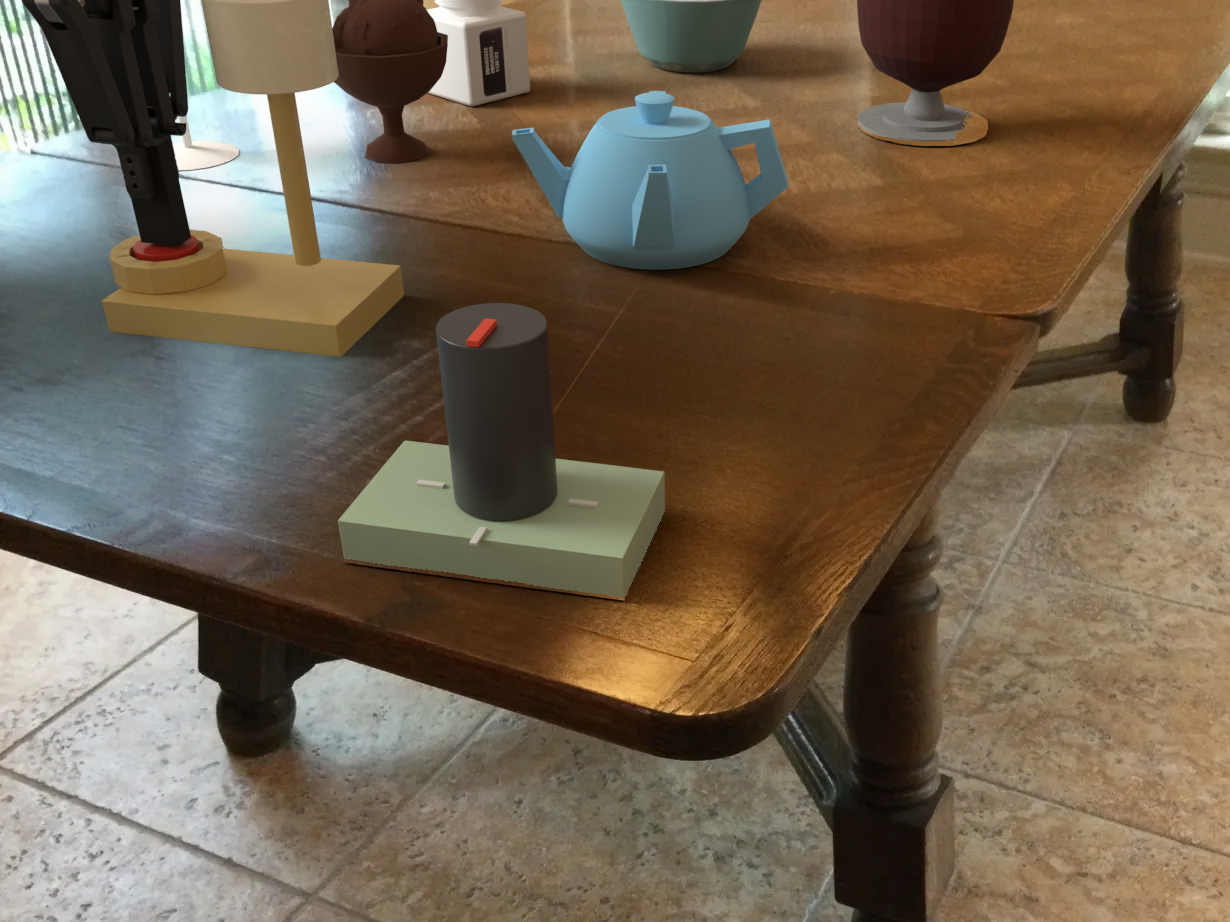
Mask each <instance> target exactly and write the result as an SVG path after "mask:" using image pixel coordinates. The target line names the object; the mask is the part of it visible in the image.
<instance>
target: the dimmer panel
mask: <svg viewBox="0 0 1230 922" xmlns="http://www.w3.org/2000/svg"><path fill="white" fill-rule="evenodd" d="M556 473H557V490H558V492H557V496H556V498H555V500H554V501H553V503H552V504H551V505H550V506H549V507H547V508H546V509H545V510H543V511H541V512H539V513H537V514H535V515H532V516H529V517H526V518H522V519H517V520H509V521H493V520H485V519H480V518H477V517H474V516H471V515H469V514H467V513H465V512H464V511H462V510H461V509H460V508H459V506H458V505H457V504H456V502H455V498H454V490H453V481H452V472H451V463H450V454H449V445H446V444H437V443H431V442H423V441H422V442H421V441H414V440H413V441H412V440H404V441H403V442H402V443H401V444H400V445H399V446H398V447H397V448H396V450H395V451H394V453H392V455H391V456H390V457H389V458H388V460H386V462H385V463H384V464H383V466H382V467H381V468H380V469H379V470H378V472H377V473H376V474H375V475H374V476H373V477H372V479H371V480H370V481H369V483H367V485H366V486H365V487H364V488H363V490H362V491H360V493H359V494H358V496H357V497H356V498H355V499H354V500H353V502H352V503H351V504H350V505H349V507H347V509H346V510H345V511H344V512H343V514H342V515H341V516H340V517H339V519H338V520H337V523H338V529H339V535H340V542H341V548H342V553H343V560H344V559H348V560H350V559H352V560H357V561H358V560H359V561H364V562H370V563H371V562H372V563H373V564H375V563H377V564H383V565H388V566H391V565H392V566H398V567H401V566H402V567H407V568H413V569H415V568H417V569H423V570H425V569H427V570H429V571H430V570H433V571H439V572H441V571H443V572H445V573H446V572H449V573H455V574H461V575H463V574H464V575H468V576H474V577H480V578H487V579H493V580H494V579H498V580H504V581H506V582H507V581H511V582H514V581H516V582H518V583H525V584H527V585H530V584H532V585H534V586H538V585H539V586H541V587H548V588H555V589H563V590H565V591H566V590H570V591H578V592H586V593H594V594H602V595H609V596H612V597H615V596H616V597H620V598H625V596H626V594H627V591H628V589H629V587H630V585H631V583H632V581H633V579H634V577H635V575H636V573H637V571H638V572H639V570H638V568H639V567H640V568H641V566H642V564H641V562H642V561H643V562H644V560H643V558H644V559H645V557H646V555H645V553H646V552H647V553H648V551H647V549H648V547H649V545H650V546H651V544H650V542H651V541H652V542H653V540H652V538H653V536H654V533H655V531H656V530H657V531H658V529H657V527H658V525H659V523H660V521H661V522H662V520H663V518H662V516H663V514H664V512H665V513H666V481H665V480H666V479H665V478H666V477H665V476H666V472H665V471H663V470H655V469H645V468H640V467H639V468H637V467H630V466H621V465H615V464H607V463H606V464H605V463H597V462H589V461H581V460H580V461H579V460H571V459H570V460H569V459H563V458H556ZM664 515H665V514H664ZM663 517H664V516H663ZM661 519H662V520H661ZM660 524H661V523H660ZM659 526H660V525H659ZM658 528H659V527H658ZM657 531H656V532H657ZM655 534H656V533H655ZM654 537H655V536H654ZM653 539H654V538H653ZM652 542H651V543H652ZM649 548H650V547H649ZM648 550H649V549H648ZM647 553H646V554H647ZM644 556H645V557H644ZM643 562H642V563H643ZM640 565H641V566H640ZM640 568H639V569H640ZM637 574H638V573H637ZM636 576H637V575H636ZM635 578H636V577H635ZM634 580H635V579H634ZM633 582H634V581H633ZM627 595H628V594H627Z"/></svg>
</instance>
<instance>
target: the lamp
mask: <svg viewBox="0 0 1230 922" xmlns="http://www.w3.org/2000/svg"><path fill="white" fill-rule="evenodd" d="M200 1H201V6H202V13H203V18H204V22H205V27H206V33H207V39H208V45H209V50H210V54H211V60H212V65H213V70H214V77H215V82H216V84H217V86H219V88H221V89H223V90H226V91H229V92H233V93H237V94H238V93H240V94H246V95H266V97H267V103H268V109H269V116H270V120H271V121H270V122H271V126H272V131H273V133H272V134H273V139H274V146H275V150H276V151H275V152H276V156H277V162H278V169H279V175H280V180H281V187H282V193H283V198H284V204H285V210H286V216H287V222H288V228H289V233H290V238H291V245H292V252H293V255H294V258H295V262H296V264H298V265H301V266H311V265H315V264H318V263H319V262H320V261H321V258H322V257H321V252H320V245H319V239H318V238H319V237H318V232H317V226H316V219H315V212H314V207H313V201H312V194H311V188H310V181H309V175H308V169H307V162H306V157H305V151H304V144H303V136H302V132H301V124H300V117H299V111H298V105H297V100H296V99H297V98H296V93H303V92H308V91H313V90H316V89H321V88H323V87H325V86H329V85H331V84H332V83H334V81H335V80H337V78H338V76H339V73H338V66H337V59H336V52H335V45H334V37H333V30H332V28H333V24H332V17H331V10H330V3H329V1H330V0H200Z"/></svg>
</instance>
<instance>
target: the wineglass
mask: <svg viewBox="0 0 1230 922" xmlns="http://www.w3.org/2000/svg"><path fill="white" fill-rule="evenodd" d="M187 115H188V114H187ZM187 115H186V116H184V117H179V116H178V117H177V119H176V123H186V127H187V128H186V132H185V134H184V135H183V136H179V137H180V142H172V143H173V148H174V152H175V159H176V162H177V164H176V165H177V166H178V171H193V170H200V169H206V168H212V167H214V166H219V165H223V164H226V163H228V162H230V161H232V160H234V159H235V158H236V157H237V156H239V154H240V149H239V148H238V147H237V146H236V145H234V144H231V143H229V142H223V141H216V140H192V135H191V131H190V130H191V129H190V125H189V120H188V116H187Z"/></svg>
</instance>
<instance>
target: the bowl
mask: <svg viewBox="0 0 1230 922" xmlns="http://www.w3.org/2000/svg"><path fill="white" fill-rule="evenodd" d="M620 2H621V5H622V8H623V11H624V15H625V17H626V21H627V23H628V26H629V28H630V31H631V34H632V37H633V40H634V42H635V45H636V48H637V50H638V52H639V54H640V55H641V56H642V57H643V58H644V59H645V60H647V61H648V62H649V63H650V64H651V65H652V66H653V67H656V68H657V69H661V70H663V71H669V72H676V73H685V74H687V73H688V74H690V73H691V74H698V73H709V72H716V71H720V70H723V69H726V68H728V67H729V66H731V65H732V64H733V63H734V62H735V61H736V60H737V59H738V58H739V57H740V56H741V55H742V54H743V53H744V51H745V48H746V45H747V42H748V40H749V37H750V34H751V32H752V30H753V26H754V23H755V21H756V18H757V15H758V12H759V10H760V7H761V3H762V0H620Z"/></svg>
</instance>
